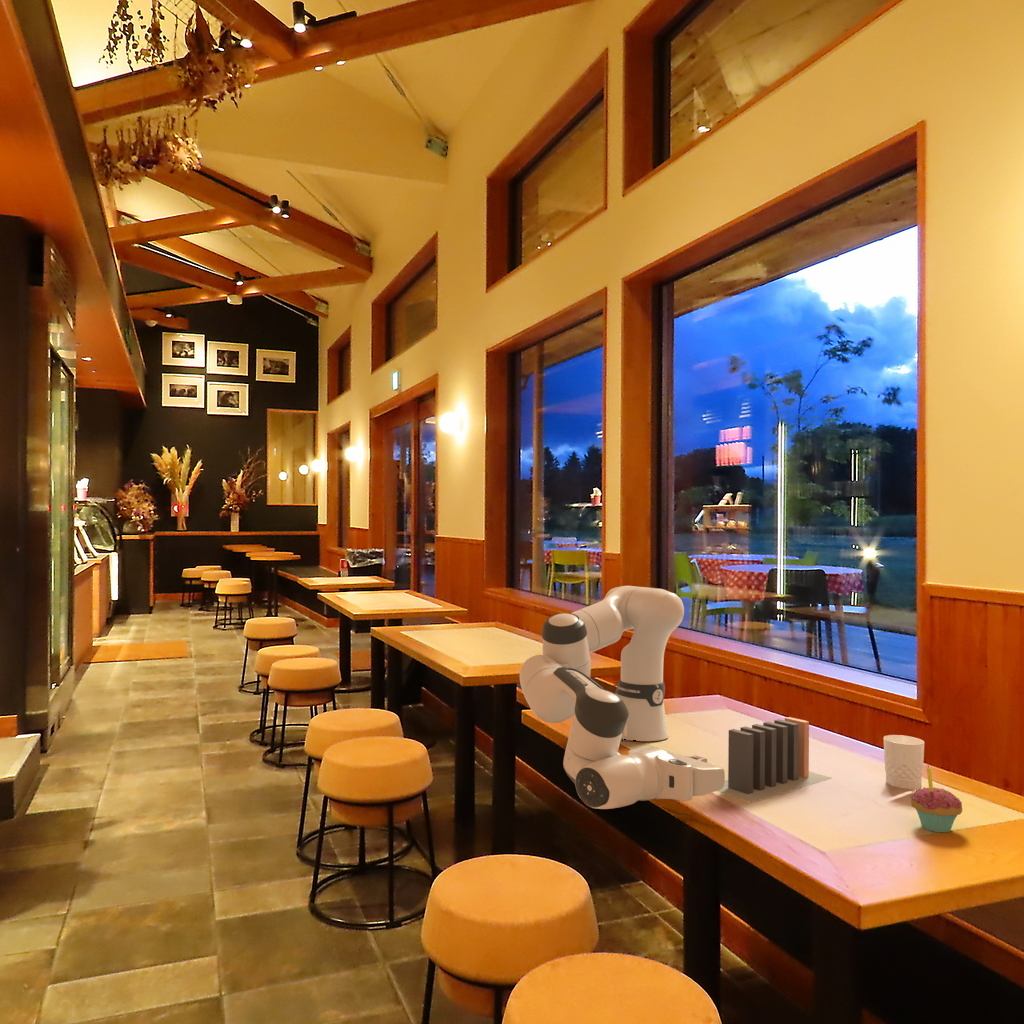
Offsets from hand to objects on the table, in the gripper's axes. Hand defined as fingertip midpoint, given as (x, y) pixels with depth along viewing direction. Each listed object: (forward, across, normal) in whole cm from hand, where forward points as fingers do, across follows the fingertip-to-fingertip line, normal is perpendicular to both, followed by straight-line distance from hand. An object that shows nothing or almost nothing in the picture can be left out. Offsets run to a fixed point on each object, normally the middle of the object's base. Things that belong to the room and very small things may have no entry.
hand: (701, 760), depth 161 cm
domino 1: (+12, 0, -8) cm, 15 cm away
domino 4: (+24, 0, -8) cm, 25 cm away
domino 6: (+32, 0, -8) cm, 33 cm away
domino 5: (+28, 0, -8) cm, 29 cm away
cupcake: (+26, +33, -9) cm, 43 cm away
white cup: (+45, +17, -9) cm, 49 cm away
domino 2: (+16, 0, -8) cm, 18 cm away
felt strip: (+22, 0, -9) cm, 24 cm away
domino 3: (+20, 0, -8) cm, 22 cm away
